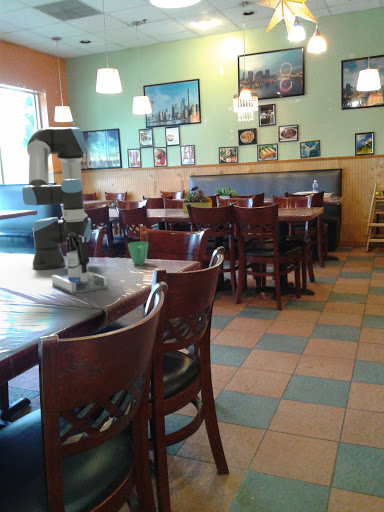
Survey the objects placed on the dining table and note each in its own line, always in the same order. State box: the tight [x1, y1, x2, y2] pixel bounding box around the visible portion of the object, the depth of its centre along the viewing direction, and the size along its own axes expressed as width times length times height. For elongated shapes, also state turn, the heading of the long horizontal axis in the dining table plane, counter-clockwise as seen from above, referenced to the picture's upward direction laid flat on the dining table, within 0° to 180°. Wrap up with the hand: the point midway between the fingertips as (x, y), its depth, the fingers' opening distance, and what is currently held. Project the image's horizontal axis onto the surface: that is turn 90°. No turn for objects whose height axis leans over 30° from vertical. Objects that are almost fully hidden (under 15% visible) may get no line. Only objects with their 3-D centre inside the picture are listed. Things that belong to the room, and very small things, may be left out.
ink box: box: [65, 250, 90, 284], centre depth 171 cm, size 8×5×12 cm, turn 168°
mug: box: [127, 241, 149, 266], centre depth 212 cm, size 15×10×10 cm
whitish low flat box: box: [51, 270, 109, 295], centre depth 172 cm, size 20×14×4 cm
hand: (79, 279), depth 172 cm, fingers closed on ink box, 9 cm apart
